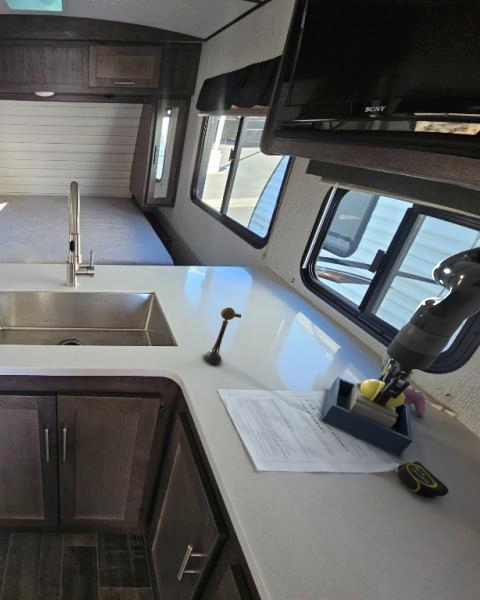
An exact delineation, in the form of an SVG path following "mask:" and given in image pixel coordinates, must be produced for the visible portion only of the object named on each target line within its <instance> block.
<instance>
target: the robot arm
mask: <svg viewBox="0 0 480 600" xmlns="http://www.w3.org/2000/svg"><path fill="white" fill-rule="evenodd" d="M432 278H433V280H434V281H435V282H436V283H437V284H438V285H439V286H441V287H443V288H444V289H446V291H449V292H448V293H447V295H446V296H445V297H443V298H440V297H429V298H426V299H424V300H422V302H421V303H419V305H418V307H417V308H416V310H415V311H414V312H413V314H411V316H410V318H409V319H408V320H407V321H406V323H404V324H403V325H402V327H401V328H400V330H399V331H398V332H397V334H396V335H395V337H394V338H393V339H392V341H391V342H390V344H389V345H388V347H387V348H386V354H387V355H388V358H387V360H386V361H385V363H384V364H383V366H382V367H381V372H380V373H379V374H380V376H379V378H378V379H377V380H379V381H382V382H384V384H383V386H382V387H381V388H380V391H379V392H378V393H377V395H376V396H375V397H374V399H373V402H375V403H377V404H379V405H382V406H384V405H385V404H386V403H387V402H388V401H389V399H390V398H394V399H396V398H397V397H398V396H399V395H400V394H401V393H402V392H403V391H404V390H405V389H406V388H407V387H408V386H410V381H408V380H409V379H411V378H412V376H413V374H414V373H413V370H427V369H429V368H430V367H431V365H432V364H433V363H434V362H435V360H436V359H437V358H438V357H439V356H440V355H441V353H442V352H443V351H444V350H445V349H446V347H447V346H448V344H449V343H450V341H451V339H452V338H453V336H454V335H455V334H456V333H457V331H458V330H459V328H460V327H461V326H462V325H463V323H464V322H465V321H466V320H467V319H469V318H470V317H472V316H473V315H475V314H477V313H478V312H479V311H480V246H477V247H473V248H470V249H466V250H463V251H459V252H457V253H454V254H452V255H449V256H448V257H446V258H444V259H442V260H441V261H440V262H439V263H438V264H437V265H436V266H435V267H434V268H433V269H432Z"/></svg>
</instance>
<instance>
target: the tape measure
mask: <svg viewBox="0 0 480 600" xmlns="http://www.w3.org/2000/svg"><path fill="white" fill-rule="evenodd" d="M396 475H397V479H398V480H399V481H400V482H401V483H402V485H403V486H405V487H406V489H408V490H409V491H411V492H412V493H413V494H415V495H417V496H419V497H421V498H424V499H435V498H438V497H445V496H446V495H447V494H449V488H448V487H447V485H445V484H444V482H443V481H441V480H440V479H439V478H438V477H437V476H435V475H434V474H433V473H432V472H431V471H430V470H429V469H428V468H427V467H426V466H424V464H422V463H421V462H420V461H418V460H415V461H413V462H406V463H402V464H399V465H398V466H397V473H396Z"/></svg>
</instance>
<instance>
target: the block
mask: <svg viewBox="0 0 480 600" xmlns="http://www.w3.org/2000/svg"><path fill="white" fill-rule="evenodd" d="M362 383H363V382H359V381H356V382H355V383H354V384H355V385H354V387H353V388H352V390H351V391H350V393H349V394H348V396H347V397H346V399H345V401H344V409H346V410H348V411H351V412H353V413H355V414H357V415H360V416H362V417H364V418H366V419H369V420H371V421H373V422H375V423H378V424H380V425H382V426H384V427H387V428H389V429H390V428H391V427H392V426H393V425H394V423H395V422H396V418H397V417H398V414H397V413H396V407H388V406H385V405H384V406H382V405H379V404H377V403H375V402H373V400H370V399H368V398H367V397H365V396H364V395H363V394H362V392H361V389H360V387H361V384H362Z"/></svg>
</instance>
